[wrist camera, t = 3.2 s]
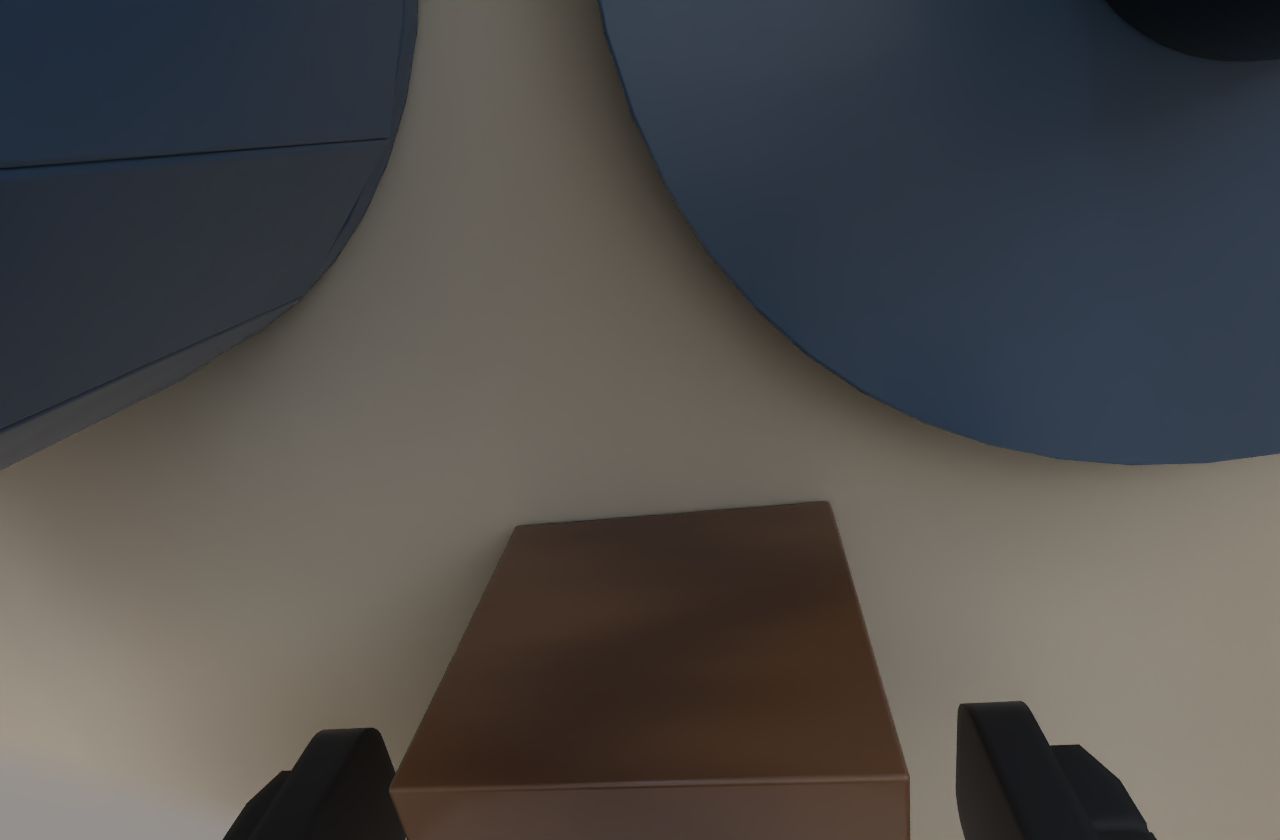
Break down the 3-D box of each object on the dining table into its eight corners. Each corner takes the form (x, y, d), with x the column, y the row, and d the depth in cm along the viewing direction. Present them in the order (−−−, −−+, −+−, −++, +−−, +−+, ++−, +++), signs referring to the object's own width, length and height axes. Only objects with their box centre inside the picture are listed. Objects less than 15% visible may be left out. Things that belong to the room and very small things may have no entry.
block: (830, 499, 11) (910, 777, 6) (843, 744, 13) (914, 1096, 8) (514, 524, 12) (384, 790, 7) (571, 753, 14) (497, 1080, 9)
